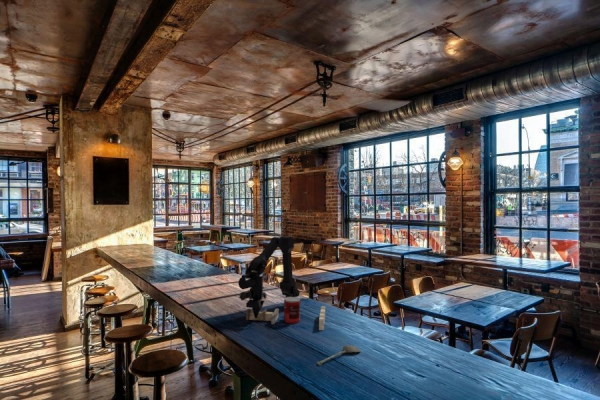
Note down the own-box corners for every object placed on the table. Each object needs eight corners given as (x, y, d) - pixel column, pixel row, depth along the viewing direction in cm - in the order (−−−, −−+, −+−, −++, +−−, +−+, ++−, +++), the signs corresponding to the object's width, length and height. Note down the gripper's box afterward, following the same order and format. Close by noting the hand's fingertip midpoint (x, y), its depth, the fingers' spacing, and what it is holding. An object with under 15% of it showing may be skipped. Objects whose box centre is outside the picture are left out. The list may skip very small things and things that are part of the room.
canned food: (289, 317, 179) (289, 295, 179) (302, 320, 175) (303, 298, 175) (280, 321, 173) (281, 299, 173) (294, 325, 168) (294, 301, 169)
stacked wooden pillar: (243, 322, 170) (243, 313, 170) (250, 315, 182) (250, 306, 182) (274, 324, 169) (274, 315, 169) (278, 316, 181) (278, 307, 181)
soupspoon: (364, 354, 139) (351, 349, 144) (364, 345, 140) (351, 341, 145) (324, 369, 125) (312, 363, 130) (324, 359, 125) (312, 354, 130)
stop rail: (321, 316, 182) (321, 306, 182) (325, 316, 182) (325, 306, 182) (319, 329, 162) (319, 319, 162) (323, 330, 162) (323, 319, 162)
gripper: (246, 280, 186) (245, 310, 186) (235, 289, 168) (235, 322, 167) (267, 281, 185) (266, 311, 185) (258, 290, 166) (258, 323, 166)
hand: (256, 316), depth 176 cm, fingers closed on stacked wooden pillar, 2 cm apart
